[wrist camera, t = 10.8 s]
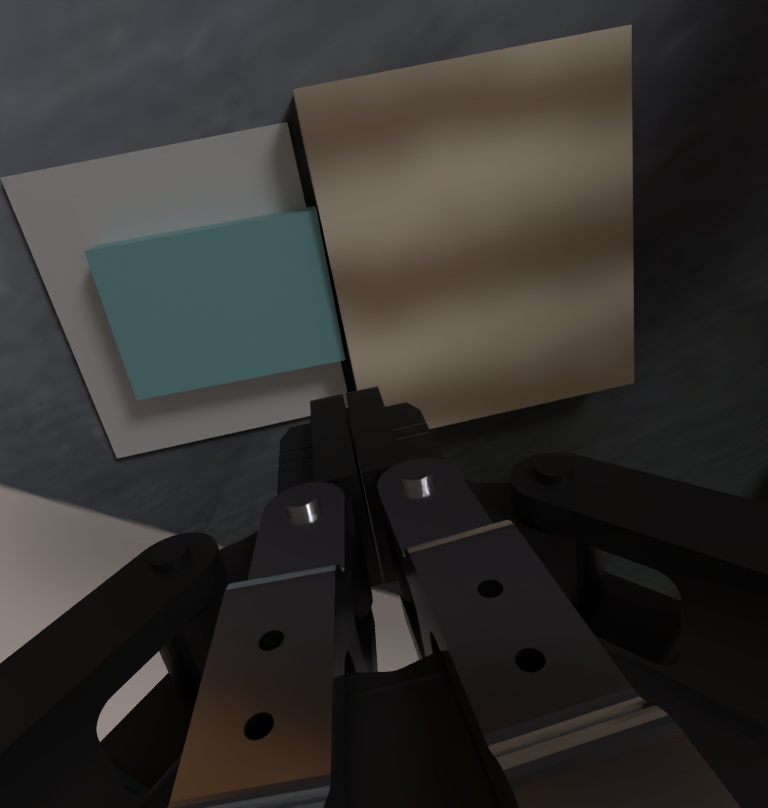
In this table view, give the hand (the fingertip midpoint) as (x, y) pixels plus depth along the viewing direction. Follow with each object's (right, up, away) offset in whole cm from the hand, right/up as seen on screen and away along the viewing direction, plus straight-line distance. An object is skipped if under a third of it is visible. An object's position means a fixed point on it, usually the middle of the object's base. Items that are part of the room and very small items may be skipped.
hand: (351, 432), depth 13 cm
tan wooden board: (+5, +9, +17) cm, 20 cm away
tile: (-7, +6, +16) cm, 18 cm away
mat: (-8, +6, +16) cm, 19 cm away
